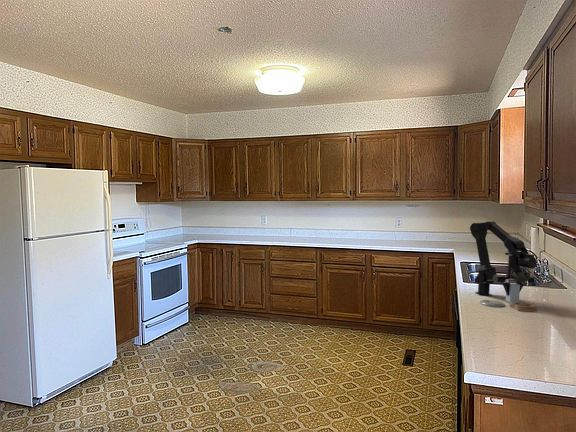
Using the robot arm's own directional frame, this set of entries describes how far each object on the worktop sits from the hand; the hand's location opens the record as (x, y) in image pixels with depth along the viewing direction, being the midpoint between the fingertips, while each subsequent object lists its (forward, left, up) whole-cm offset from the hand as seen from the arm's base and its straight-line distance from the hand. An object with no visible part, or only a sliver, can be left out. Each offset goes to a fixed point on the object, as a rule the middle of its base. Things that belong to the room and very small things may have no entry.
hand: (512, 295), depth 226 cm
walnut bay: (+10, 0, -4) cm, 11 cm away
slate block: (0, 0, -3) cm, 3 cm away
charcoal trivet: (+3, -11, -4) cm, 12 cm away
